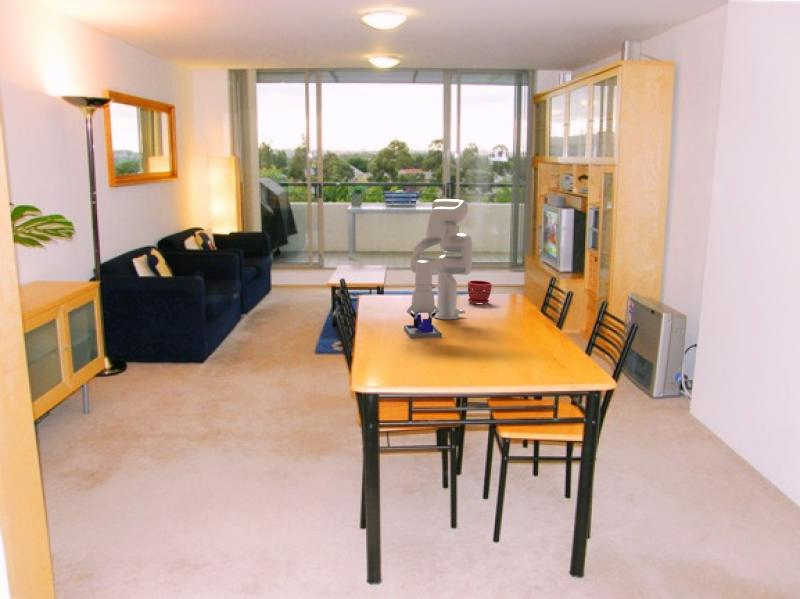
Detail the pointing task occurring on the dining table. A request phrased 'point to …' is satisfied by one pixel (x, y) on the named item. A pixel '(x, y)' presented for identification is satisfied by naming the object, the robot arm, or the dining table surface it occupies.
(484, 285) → the plant pot
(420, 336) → the shallow rectangular tray
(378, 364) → the dining table surface
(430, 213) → the robot arm
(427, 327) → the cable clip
